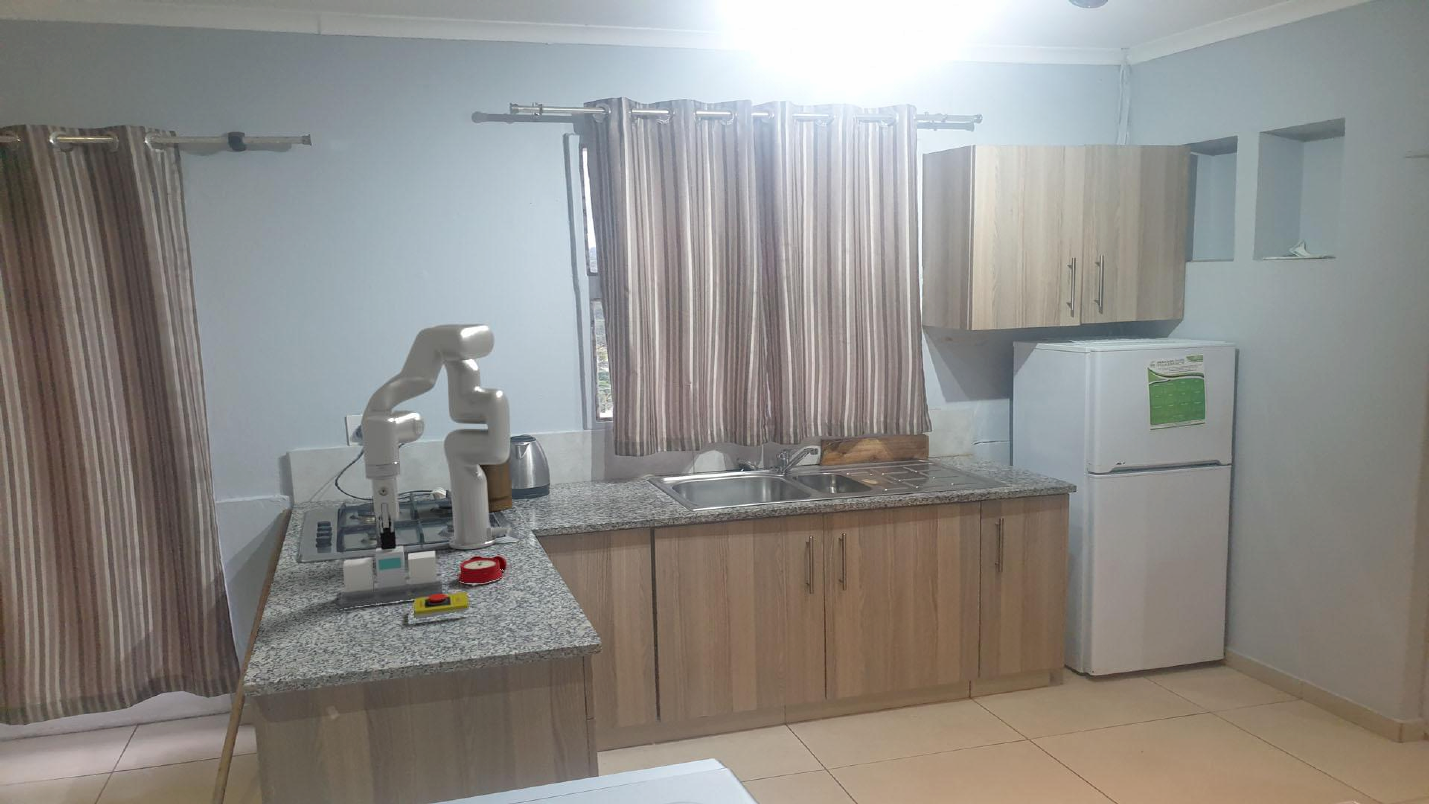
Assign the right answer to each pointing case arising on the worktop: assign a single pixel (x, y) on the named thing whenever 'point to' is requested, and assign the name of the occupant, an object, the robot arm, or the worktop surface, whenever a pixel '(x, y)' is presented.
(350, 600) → the board
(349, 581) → the mounted modules
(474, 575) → the alarm clock
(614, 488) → the worktop surface
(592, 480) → the worktop surface
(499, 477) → the wooden container
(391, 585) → the block
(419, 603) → the emergency button
